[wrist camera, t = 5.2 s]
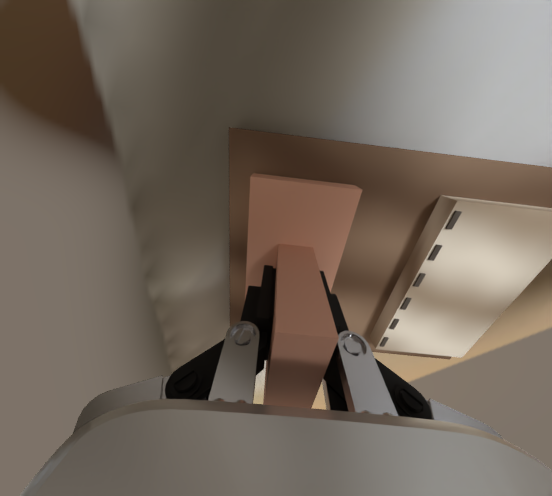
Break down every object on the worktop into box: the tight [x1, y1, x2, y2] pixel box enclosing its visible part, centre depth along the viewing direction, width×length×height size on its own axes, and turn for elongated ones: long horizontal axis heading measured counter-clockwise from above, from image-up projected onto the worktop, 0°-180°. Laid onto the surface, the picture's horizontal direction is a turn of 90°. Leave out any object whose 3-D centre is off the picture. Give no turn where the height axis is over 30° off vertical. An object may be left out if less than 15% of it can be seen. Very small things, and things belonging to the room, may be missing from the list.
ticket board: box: [229, 128, 552, 359], centre depth 14 cm, size 16×20×3 cm
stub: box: [245, 173, 362, 408], centre depth 10 cm, size 12×6×7 cm, turn 174°
